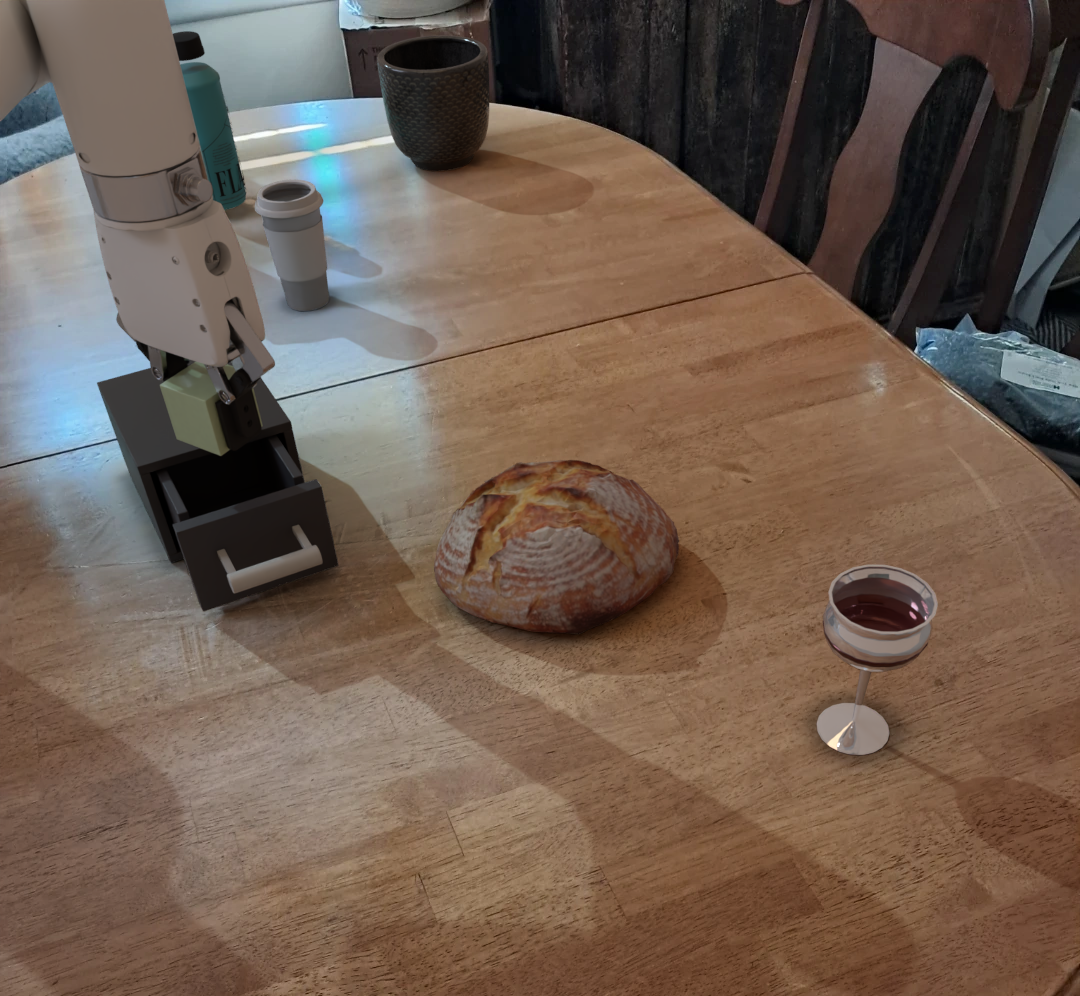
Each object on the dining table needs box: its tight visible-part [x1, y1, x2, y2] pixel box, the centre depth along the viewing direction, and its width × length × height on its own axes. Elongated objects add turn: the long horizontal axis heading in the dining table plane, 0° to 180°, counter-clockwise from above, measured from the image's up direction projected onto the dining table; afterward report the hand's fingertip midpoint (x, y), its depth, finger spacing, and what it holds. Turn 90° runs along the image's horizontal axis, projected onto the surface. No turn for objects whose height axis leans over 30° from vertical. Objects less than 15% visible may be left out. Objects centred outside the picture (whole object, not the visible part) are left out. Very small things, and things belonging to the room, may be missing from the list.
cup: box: [254, 179, 330, 312], centre depth 123 cm, size 7×7×12 cm
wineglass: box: [816, 564, 939, 756], centre depth 76 cm, size 7×7×12 cm
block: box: [160, 362, 263, 456], centre depth 85 cm, size 5×5×5 cm
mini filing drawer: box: [152, 435, 339, 613], centre depth 92 cm, size 18×11×8 cm, turn 27°
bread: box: [433, 459, 680, 635], centre depth 90 cm, size 16×20×10 cm
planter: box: [376, 34, 490, 172], centre depth 149 cm, size 14×14×13 cm
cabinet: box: [96, 360, 306, 564], centre depth 99 cm, size 15×13×10 cm
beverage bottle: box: [172, 30, 248, 211], centre depth 137 cm, size 6×7×20 cm
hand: (218, 428), depth 87 cm, fingers closed on block, 4 cm apart
